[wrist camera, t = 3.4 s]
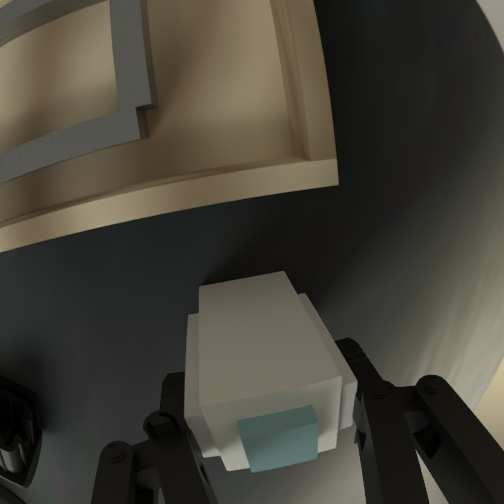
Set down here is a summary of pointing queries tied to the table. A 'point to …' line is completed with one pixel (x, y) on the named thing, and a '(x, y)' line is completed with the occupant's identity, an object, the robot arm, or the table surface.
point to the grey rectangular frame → (126, 74)
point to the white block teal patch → (264, 375)
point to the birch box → (168, 114)
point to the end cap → (19, 433)
